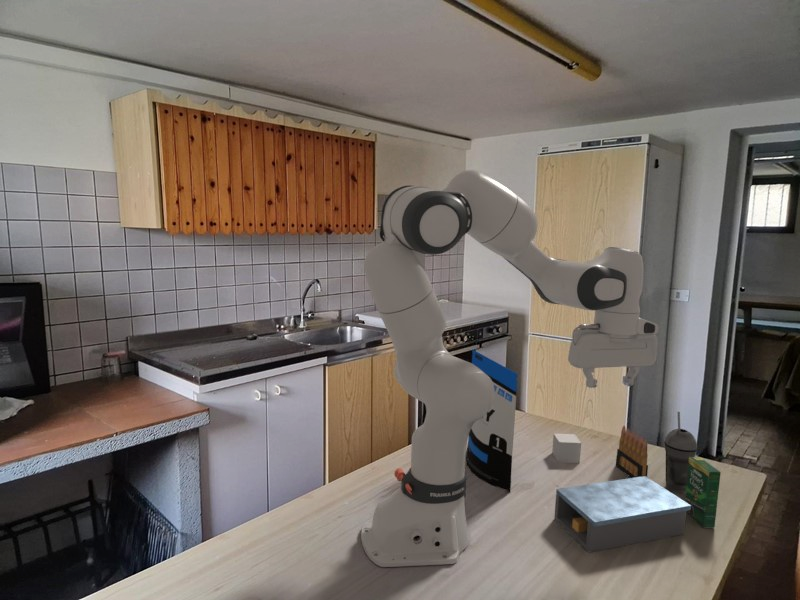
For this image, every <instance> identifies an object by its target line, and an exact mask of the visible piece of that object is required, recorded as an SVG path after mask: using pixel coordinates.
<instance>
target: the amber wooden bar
mask: <svg viewBox="0 0 800 600" xmlns="http://www.w3.org/2000/svg"><path fill="white" fill-rule="evenodd" d="M572 527H573V528H574V529H575V530H576V531H577V532H584V531H587V528H588V521H587V520H586V519H585V518H584V517H579V518H573V523H572Z"/></svg>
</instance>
